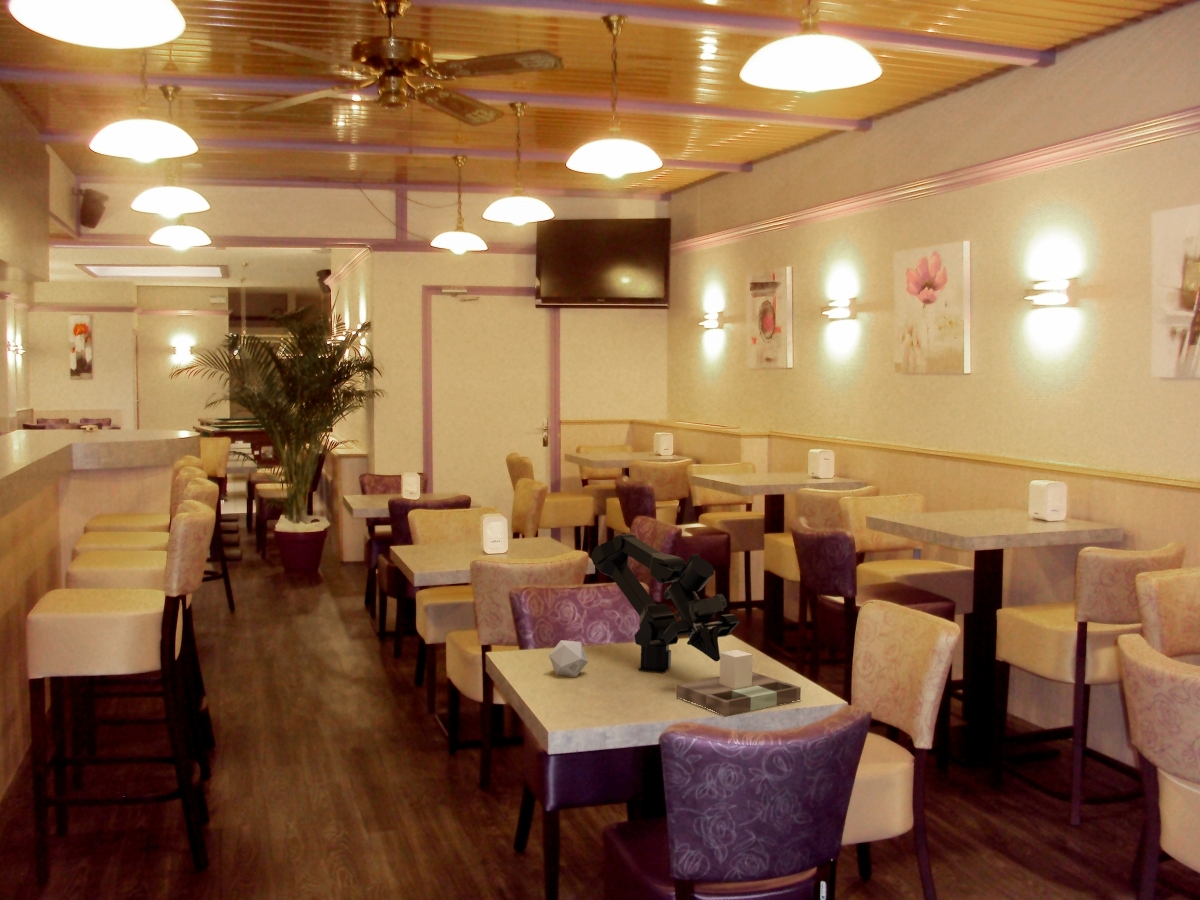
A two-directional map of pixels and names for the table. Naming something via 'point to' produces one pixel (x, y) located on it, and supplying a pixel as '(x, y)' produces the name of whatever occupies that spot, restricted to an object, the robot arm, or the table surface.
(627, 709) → the table surface
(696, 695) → the brown compartment tray
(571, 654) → the die
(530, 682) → the table surface
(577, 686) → the table surface
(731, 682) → the block
